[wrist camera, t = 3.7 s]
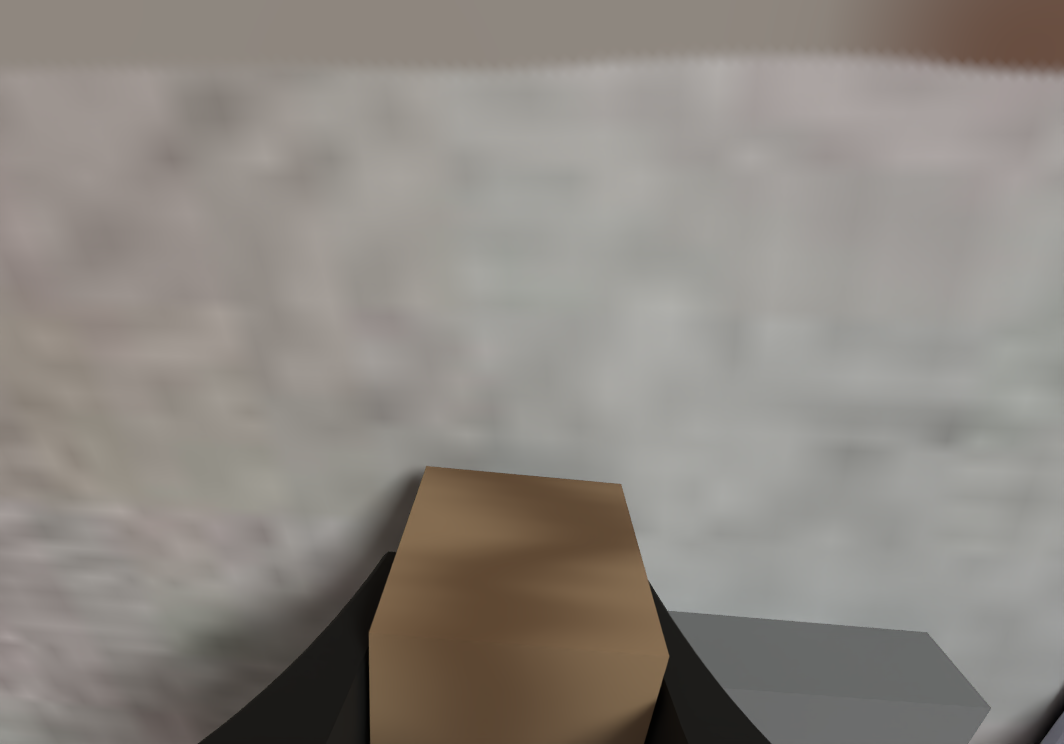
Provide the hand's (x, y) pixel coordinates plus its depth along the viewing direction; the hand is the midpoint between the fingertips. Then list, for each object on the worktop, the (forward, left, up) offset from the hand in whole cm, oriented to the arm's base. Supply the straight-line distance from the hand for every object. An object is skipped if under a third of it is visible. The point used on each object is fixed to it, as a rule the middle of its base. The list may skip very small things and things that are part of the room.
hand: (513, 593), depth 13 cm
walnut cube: (0, 0, -2) cm, 2 cm away
